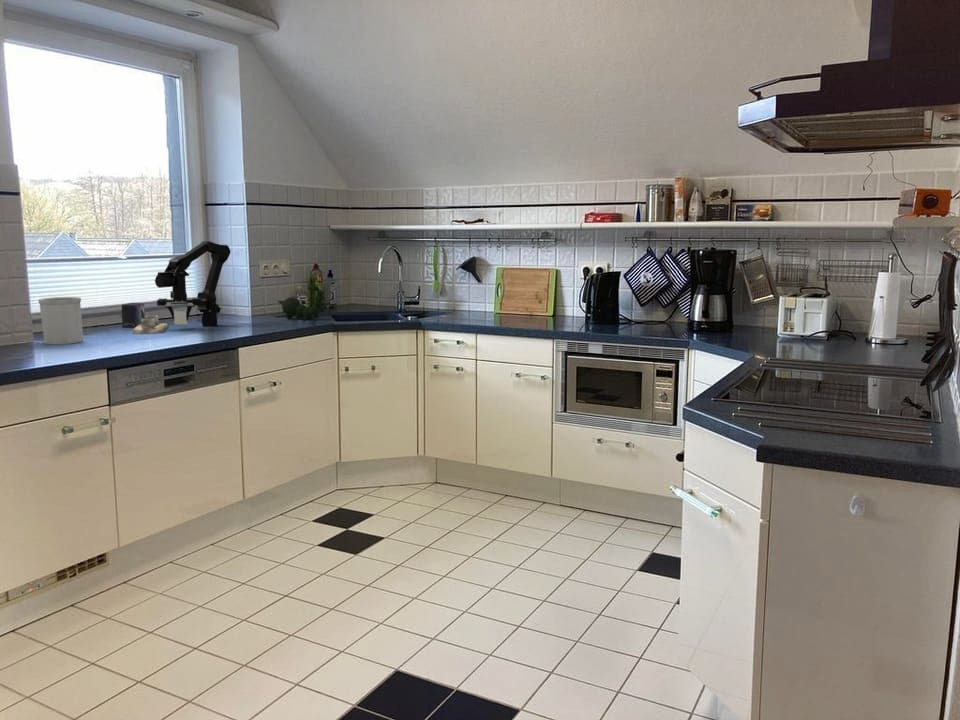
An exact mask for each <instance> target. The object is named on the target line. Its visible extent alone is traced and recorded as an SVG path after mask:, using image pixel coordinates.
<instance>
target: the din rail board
mask: <svg viewBox="0 0 960 720" xmlns="http://www.w3.org/2000/svg"><path fill="white" fill-rule="evenodd" d="M159 318H160V317H159V315H158V314H155V315H152V314H151V315H146V316H145V319H142V320H141V324H139V325H138V326H137V327H133V328H134V329H132V334H133V335H134V334H139V335H140V334H163V333H164V332H165V330H167V328H168V323H160V321H159V320H160V319H159Z"/></svg>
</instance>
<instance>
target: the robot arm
mask: <svg viewBox="0 0 960 720" xmlns="http://www.w3.org/2000/svg"><path fill="white" fill-rule="evenodd" d="M207 252H208V253H210V258H211V265H210V268H209V272H208V275H207V277H206V282H205V286H204V288H203V290H202V292H199V291H198V293H197V297H193V298H192V299H188V294H187V282H186V277H189V276H190V273H188V272H187V271H186V270H187V269H188V268H189V267H190V266H191V263H193V262H194V261H196V260H197V259H198V258H200V257H202V256H203V255H205V253H207ZM230 254H231V248H230V246H228V245H226V244H219V243H215V242H212V241H210V240H209V241H208V240H203V241H201V242H200V243H199V244H198V245H196V246H195V247H193V248H191V249H190V250H188V251H187V252H185V253H183V254H182V255H179V256H178V255H177V256H175V257H173V258H170V259H169V261H168V264H167V266H166V268H165V270H164V271H163V272H162V271H158V272H157V274H156V276H155V279H154V283H155V285H156V287H157V288H158V289H161V288H162V289H163V288H172V289H171V291H170V293H169V294H170V299H168V298H158V299H157V300H156V305H157V307H160V306H161V307H162V306H163V307H164V308H166V309H168V311H169V313H170V316H171V317H172V320H173V321H174V311H175V309H174V305H185V304H186V305H187V306H186V310H187V317H186V318H187V322H188V321H189V318H190V314H191V311H192V308H194V307H195V306H197V308H198V310H199V313H202V315H201V325H202V327H218V325H219V323H218V314H220V312H221V309H222V308H221V307H220V306H219V305H218V304H217V295H216V290H217V286H218V283H219V280H220V279H219V278H220V276H221V272H222V269H223V266H224V264H225V263H226V261H228V259H229V257H230Z"/></svg>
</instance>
